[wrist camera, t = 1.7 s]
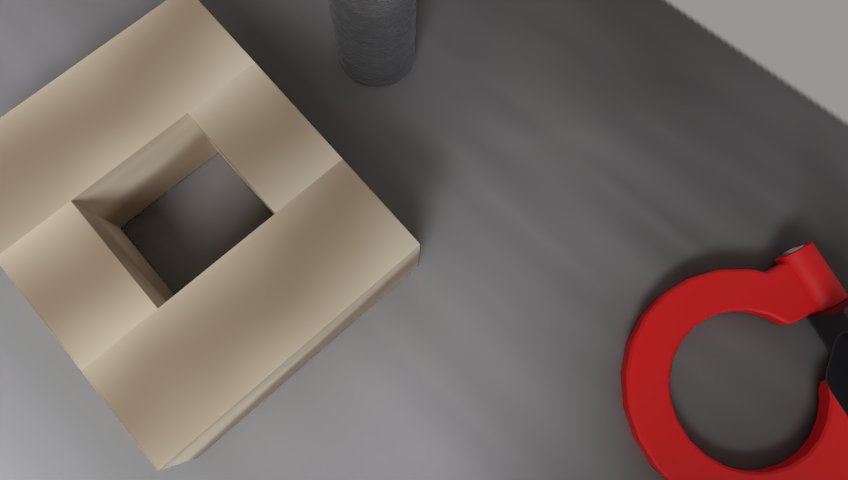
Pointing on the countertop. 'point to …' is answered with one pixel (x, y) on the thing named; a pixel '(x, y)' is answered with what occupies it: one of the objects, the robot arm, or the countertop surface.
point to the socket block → (146, 182)
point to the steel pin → (375, 38)
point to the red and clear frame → (754, 294)
